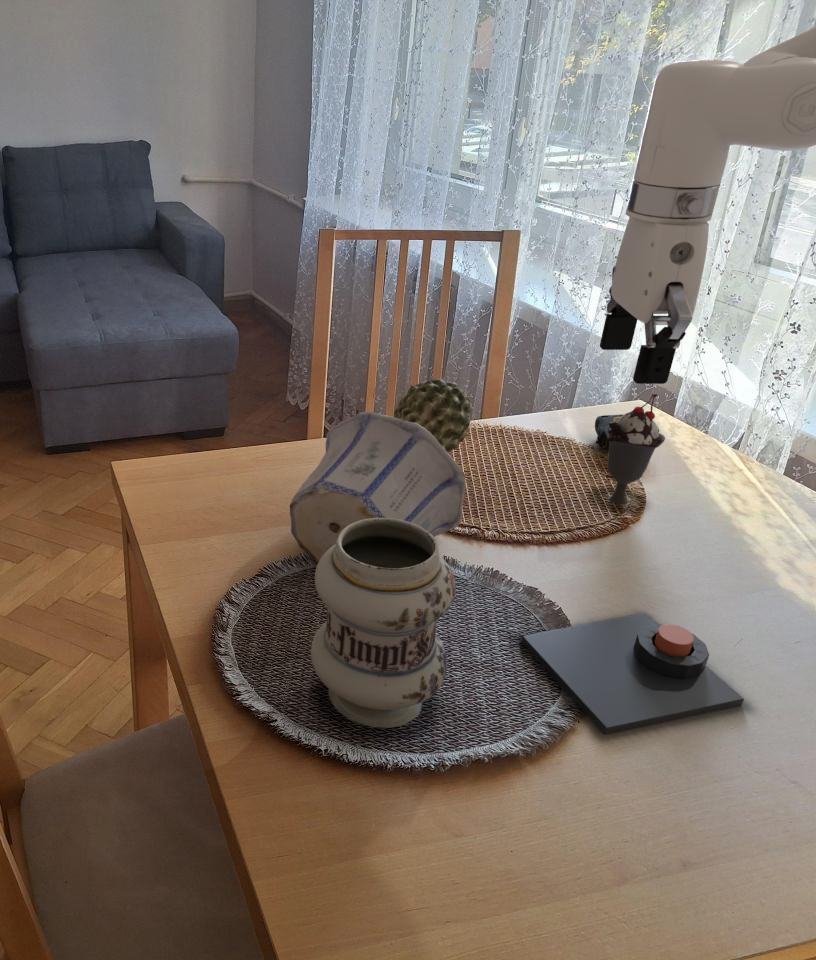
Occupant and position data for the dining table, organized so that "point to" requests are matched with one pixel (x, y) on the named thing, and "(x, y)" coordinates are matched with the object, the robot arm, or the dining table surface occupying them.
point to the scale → (629, 673)
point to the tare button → (674, 640)
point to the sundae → (631, 448)
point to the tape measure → (600, 429)
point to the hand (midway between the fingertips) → (631, 365)
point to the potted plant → (388, 469)
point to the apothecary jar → (382, 620)
